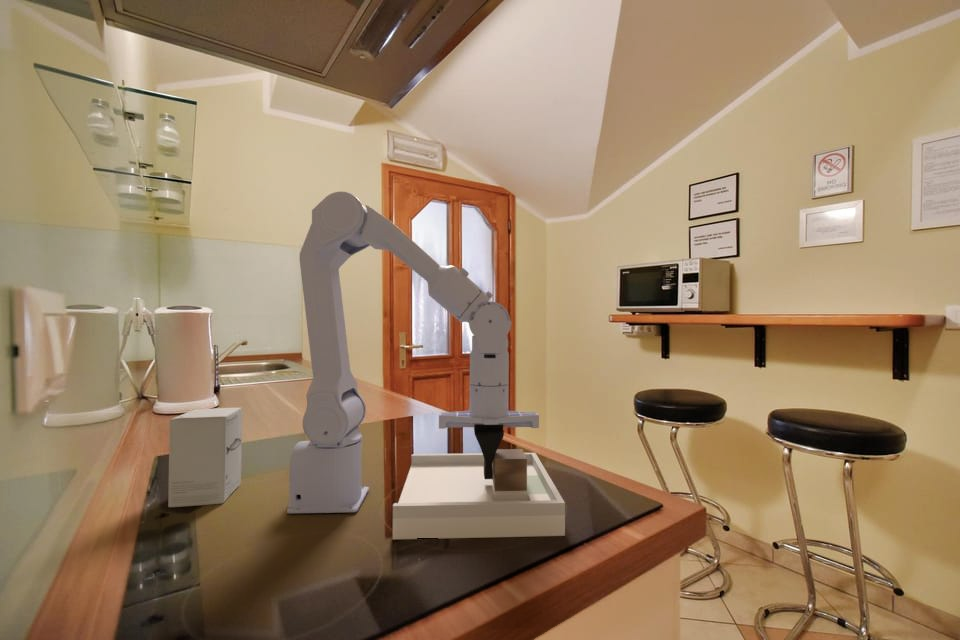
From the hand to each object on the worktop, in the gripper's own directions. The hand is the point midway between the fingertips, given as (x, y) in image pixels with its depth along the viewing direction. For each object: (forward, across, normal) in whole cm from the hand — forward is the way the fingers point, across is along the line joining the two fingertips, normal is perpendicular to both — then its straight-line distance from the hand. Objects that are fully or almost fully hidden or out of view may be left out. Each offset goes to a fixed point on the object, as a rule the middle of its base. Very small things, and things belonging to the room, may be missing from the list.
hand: (488, 476), depth 60 cm
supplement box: (+4, -42, +4) cm, 43 cm away
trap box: (+4, -2, 0) cm, 4 cm away
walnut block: (+1, +3, 0) cm, 3 cm away
